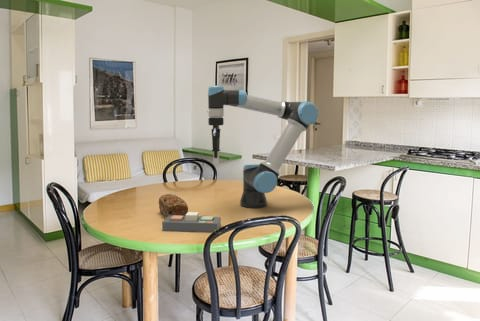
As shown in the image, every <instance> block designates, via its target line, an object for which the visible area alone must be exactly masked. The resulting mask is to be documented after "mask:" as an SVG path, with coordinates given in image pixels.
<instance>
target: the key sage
mask: <svg viewBox="0 0 480 321" xmlns="http://www.w3.org/2000/svg"><path fill="white" fill-rule="evenodd" d="M213 217H214V215H213V216H212V215H211V216H209V215H208V216H207V215H203V217H202V218H201V221H206V222H207V221H213Z"/></svg>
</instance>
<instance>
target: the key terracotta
mask: <svg viewBox="0 0 480 321" xmlns="http://www.w3.org/2000/svg"><path fill="white" fill-rule="evenodd" d="M183 219H184V216H179V215H173V216H172V217H171V218H170V221H182V220H183Z"/></svg>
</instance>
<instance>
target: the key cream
mask: <svg viewBox="0 0 480 321" xmlns="http://www.w3.org/2000/svg"><path fill="white" fill-rule="evenodd" d="M185 216H186V221H198V219H199V218H198V216H199V211H198V212H196V211H188V213H187V214H186V215H185Z"/></svg>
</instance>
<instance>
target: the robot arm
mask: <svg viewBox="0 0 480 321" xmlns="http://www.w3.org/2000/svg"><path fill="white" fill-rule="evenodd" d="M207 97H208V98H207V99H208V100H207V101H208V104H207V105H208V110H207V111H206V112H207V113H208V120H207V122H208V126H212V129H211V139H212V141H211V142H212V150H211V152H212V154H213V155H212V157H213V163H212V164H213V165H219V164H220V152H221V149H220V147H221V146H220V145H221V144H220V142H221V140H220V139H221V128H220V126H223V125H224V123H225V122H224V121H225V119H224V116H225V115H224V113H225V112H224V111H225V110H224V106H229V107H236V108H240V109H245V110H250V111H253V112H259V113H263V114H268V115H274V116H277V118H278V119H283V120H285V121H287V125H286V126H285V128H284V130H283V131H282V133H281V135H280V136H279V138H278V139H277V141H276V143H275V144H274V146H273V148H272V149H271V151H270V152H269V154H268V155H267V157H266V159H265V161H262V162H260V163H259V164H245V165H244V166H243V169H242V172H243V173H242V175H243V177H242V178H243V179H242V180H243V183H242V185H243V187H242V188H243V190H242V194H241V197H240V201H239V204H240V206H241V207H242V208H243V207H244V208H248V209H249V208H250V209H251V208H252V209H260V208H265V207H267V205H268V200H267V198H266V194H268V193H271V192H273V191H274V190H275V189H276V187H277V185H278V178H279V176H280V168H281V167H282V165H283V164H284V162H285V160H286V159H287V157H288V155H289V154H290V152H291V150H292V149H293V147H294V145H295V144H296V142H297V141H298V139H299V137H300V136H301V134H302V133H303V132H306V131H308V128H309V127H310V125H312V124H314V123H316V122H317V120H318V118H319V109H318V108H317V106H316V105H315V104H314V103H313V102H310V101H285V100H281V101H277V100H271V99H267V98H263V97H257V96H254V95H248V93H247V92H246V90H244V89H243V90H242V89H231V90H230V89H224V86H223V85H209V87H208V91H207Z"/></svg>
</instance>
